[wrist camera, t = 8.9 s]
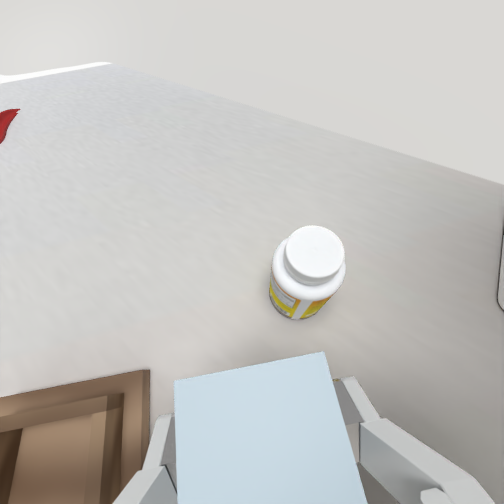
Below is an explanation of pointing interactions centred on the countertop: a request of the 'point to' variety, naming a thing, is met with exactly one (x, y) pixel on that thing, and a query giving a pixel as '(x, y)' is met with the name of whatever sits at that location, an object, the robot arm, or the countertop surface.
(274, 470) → the block
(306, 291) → the supplement bottle
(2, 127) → the cayenne pepper
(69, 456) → the board
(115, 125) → the countertop surface
